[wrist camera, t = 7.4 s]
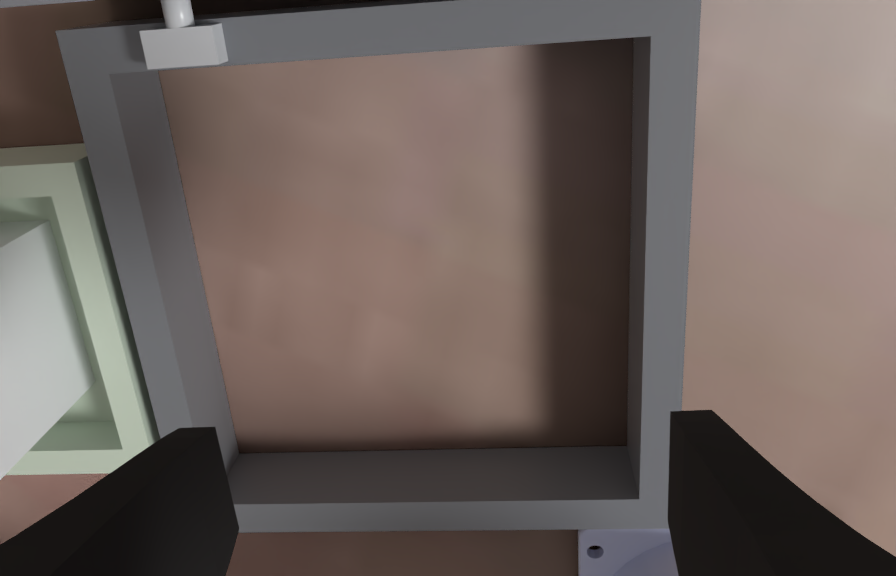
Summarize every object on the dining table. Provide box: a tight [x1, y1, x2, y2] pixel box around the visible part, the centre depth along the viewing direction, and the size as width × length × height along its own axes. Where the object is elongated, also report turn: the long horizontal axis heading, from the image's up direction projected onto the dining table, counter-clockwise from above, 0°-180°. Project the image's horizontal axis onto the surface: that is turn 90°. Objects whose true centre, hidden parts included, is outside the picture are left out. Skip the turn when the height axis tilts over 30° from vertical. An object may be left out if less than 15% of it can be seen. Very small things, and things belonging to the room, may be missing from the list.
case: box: [0, 0, 701, 533], centre depth 19 cm, size 15×14×5 cm
